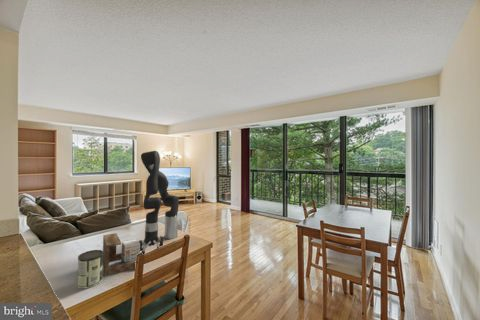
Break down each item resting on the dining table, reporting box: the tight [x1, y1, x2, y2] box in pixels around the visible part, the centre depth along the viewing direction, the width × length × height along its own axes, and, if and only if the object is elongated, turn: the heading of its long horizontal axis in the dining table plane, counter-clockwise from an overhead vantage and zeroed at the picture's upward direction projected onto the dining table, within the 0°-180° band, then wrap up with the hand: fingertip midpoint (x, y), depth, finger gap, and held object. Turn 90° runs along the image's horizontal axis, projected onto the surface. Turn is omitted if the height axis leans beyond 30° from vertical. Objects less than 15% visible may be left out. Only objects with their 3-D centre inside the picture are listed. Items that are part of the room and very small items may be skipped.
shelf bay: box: [102, 232, 136, 276], centre depth 123 cm, size 18×24×16 cm
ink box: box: [120, 239, 141, 264], centre depth 126 cm, size 9×8×12 cm
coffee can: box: [77, 249, 104, 289], centre depth 104 cm, size 10×10×14 cm
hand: (150, 254), depth 132 cm, fingers open, 8 cm apart
